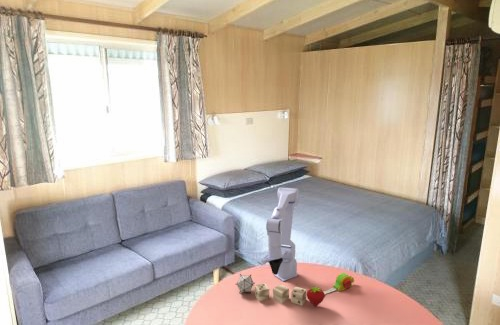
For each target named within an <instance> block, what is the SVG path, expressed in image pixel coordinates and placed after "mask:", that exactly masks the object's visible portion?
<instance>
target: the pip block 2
mask: <svg viewBox="0 0 500 325" xmlns="http://www.w3.org/2000/svg"><path fill="white" fill-rule="evenodd" d="M290 295H291V296H290V297H291V298H290V299H291V300H290V301H291V302H290V303H292V304H295V305H298V306H301V307H302V306H304V305H305V302H306V301H307V288H302V287H298V286H295V287H294V288H293V289H292V291H291V292H290Z"/></svg>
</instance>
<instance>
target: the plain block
mask: <svg viewBox="0 0 500 325" xmlns="http://www.w3.org/2000/svg"><path fill="white" fill-rule="evenodd" d="M272 299H273V300H275V301H276V302H278V303H280V304H283V303H285V302H286V301H288V300H289V299H290V287H287V286H286V285H283V284H279V285H277V286H275V287H274V288H272Z"/></svg>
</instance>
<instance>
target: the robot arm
mask: <svg viewBox="0 0 500 325" xmlns="http://www.w3.org/2000/svg"><path fill="white" fill-rule="evenodd" d="M276 194H277V195H276V196H277V197H276V198H277V199H278V203H277V206H276V207H274V209H273V212H272V214H271V216H270V218H269V219H267V220H266V226H265V229H266V234H267V236H268V237H267V238H268V240H267V242H268V243H267V244H268V245H267V246H268V251H267V254H266V255H265V256H263V257H262V258H261V259H260V262H261V264H262V265H266V264H267V263H268V264H269V266H270V269H271V273H272V274H273V276H275V277H276V278H278V279H280V281H282V282H285V281H288V280H290V279H293V278H295V277H298V275H299V274H298V273H297V271H298V270H297V269H298V268H297V266H298V265H297V263H298V262H297V259H296V258H295V257H296V244H295V242H294V241H292V240H291V238H292V236H291V235H292V227H293V218H294V209H295V207H297V206H298V204H299V199H300V190H299V188H294V187H293V188H292V187H279V188H278V189H277V193H276Z"/></svg>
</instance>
